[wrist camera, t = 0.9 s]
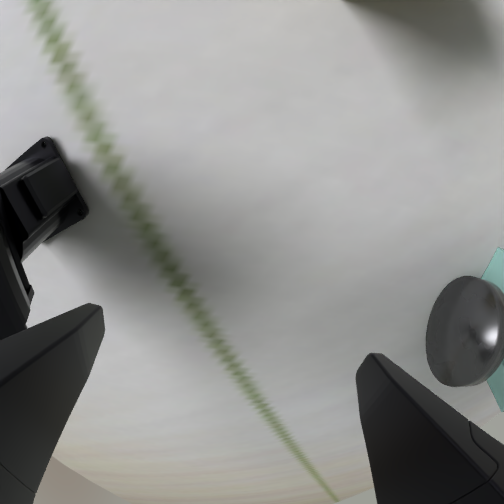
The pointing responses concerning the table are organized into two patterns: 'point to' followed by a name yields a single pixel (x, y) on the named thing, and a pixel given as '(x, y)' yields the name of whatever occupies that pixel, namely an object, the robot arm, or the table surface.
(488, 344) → the plunger
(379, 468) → the robot arm
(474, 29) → the table surface
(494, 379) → the block
